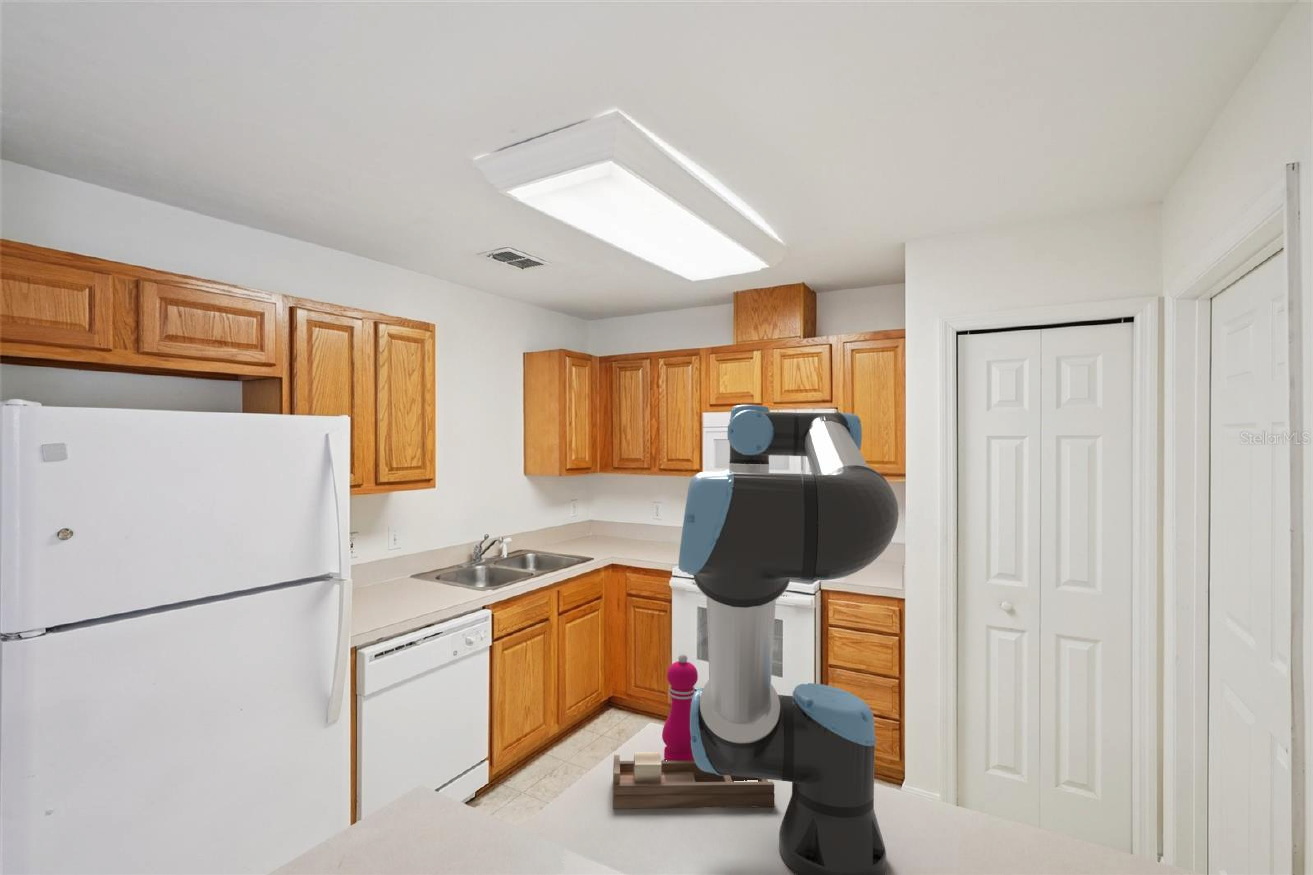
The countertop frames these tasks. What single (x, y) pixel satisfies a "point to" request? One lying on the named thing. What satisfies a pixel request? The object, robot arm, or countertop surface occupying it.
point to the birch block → (647, 767)
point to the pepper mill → (679, 710)
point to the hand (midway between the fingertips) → (745, 613)
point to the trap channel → (687, 788)
